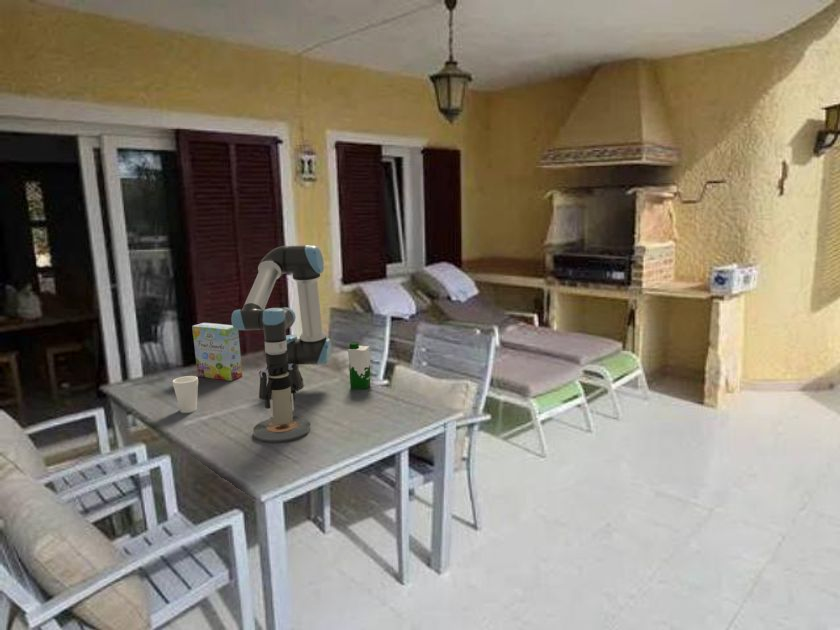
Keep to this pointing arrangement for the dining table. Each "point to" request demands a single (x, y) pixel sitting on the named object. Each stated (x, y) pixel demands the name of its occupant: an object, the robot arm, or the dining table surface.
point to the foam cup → (186, 393)
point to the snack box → (217, 351)
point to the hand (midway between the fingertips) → (280, 412)
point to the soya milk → (359, 366)
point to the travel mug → (281, 399)
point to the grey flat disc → (281, 430)
